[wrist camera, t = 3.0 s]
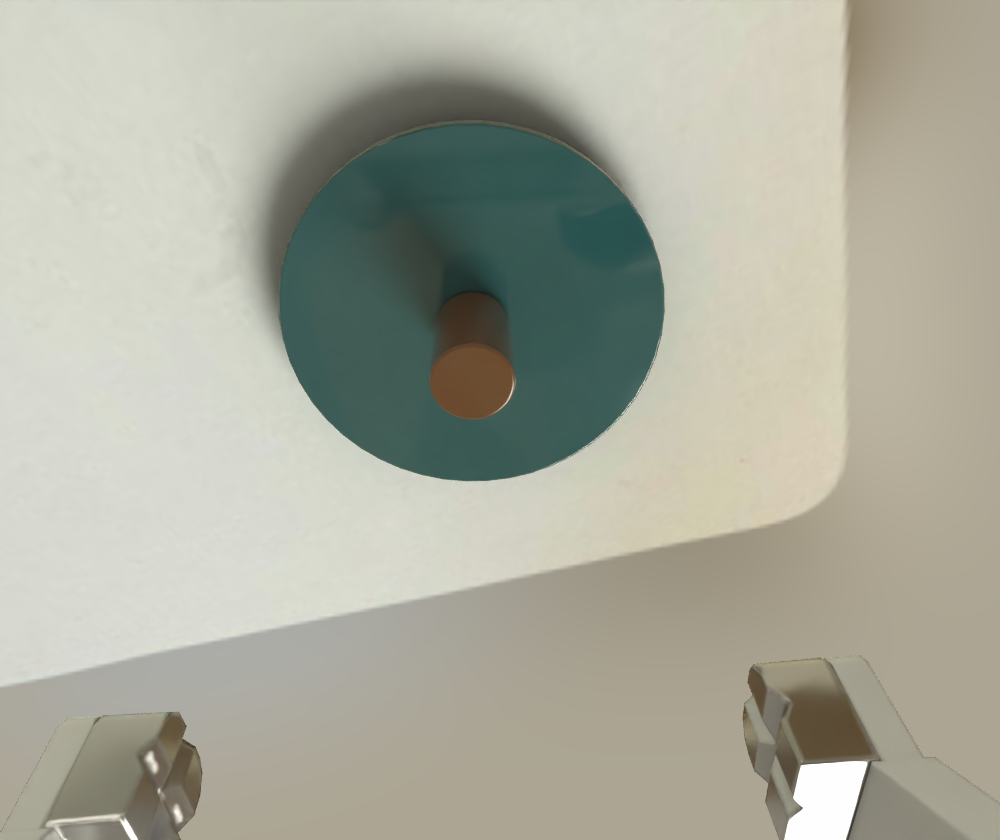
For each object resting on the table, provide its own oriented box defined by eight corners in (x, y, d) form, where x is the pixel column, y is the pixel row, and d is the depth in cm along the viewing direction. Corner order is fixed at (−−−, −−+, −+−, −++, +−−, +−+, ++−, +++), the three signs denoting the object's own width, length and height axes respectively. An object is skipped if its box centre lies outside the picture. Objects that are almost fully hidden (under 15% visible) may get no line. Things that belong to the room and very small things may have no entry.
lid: (664, 99, 20) (712, 133, 16) (650, 449, 26) (681, 539, 22) (246, 131, 20) (189, 174, 16) (325, 472, 26) (297, 566, 22)
